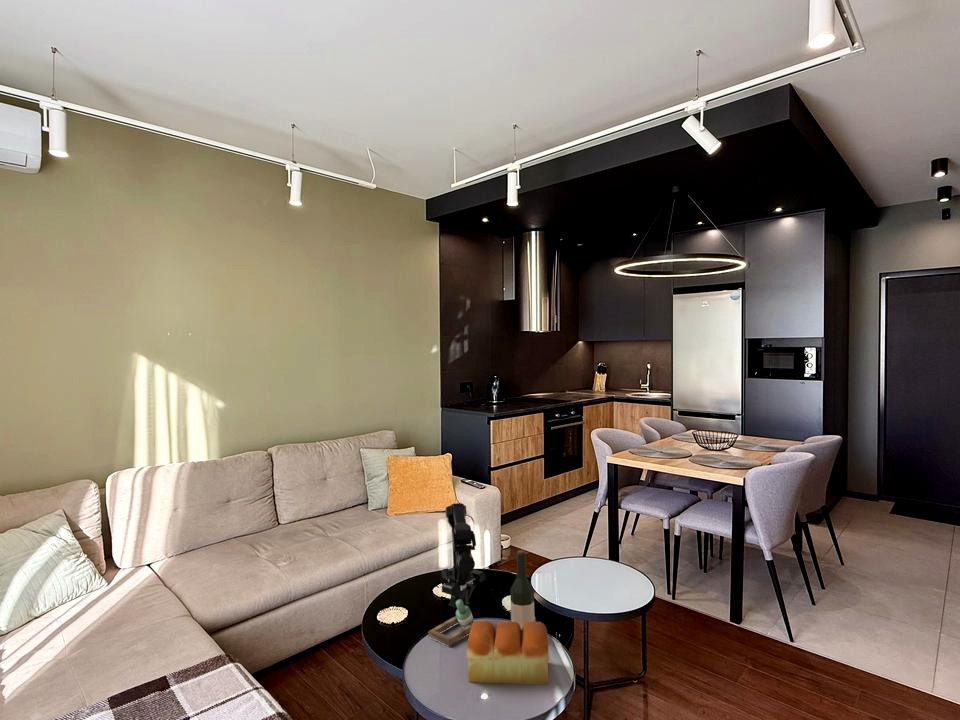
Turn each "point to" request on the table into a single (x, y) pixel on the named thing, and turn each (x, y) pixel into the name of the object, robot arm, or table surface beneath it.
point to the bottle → (463, 614)
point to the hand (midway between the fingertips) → (464, 605)
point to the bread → (508, 653)
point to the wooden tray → (453, 638)
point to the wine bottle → (522, 594)
